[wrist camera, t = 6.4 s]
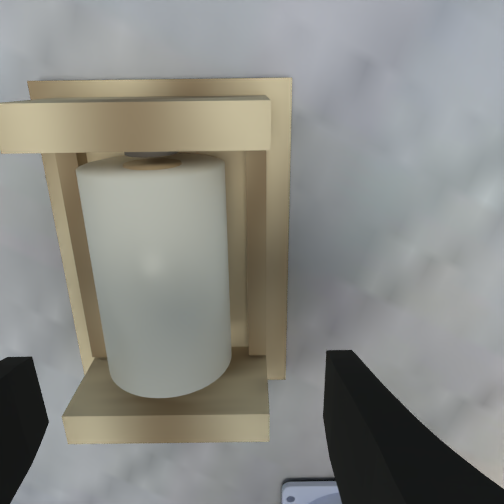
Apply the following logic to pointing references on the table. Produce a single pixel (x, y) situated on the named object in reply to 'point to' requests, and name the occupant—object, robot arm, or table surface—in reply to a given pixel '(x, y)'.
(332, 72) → the table surface
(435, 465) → the robot arm
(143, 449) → the table surface
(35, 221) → the table surface
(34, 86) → the beige wooden frame
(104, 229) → the roll
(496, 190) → the table surface
